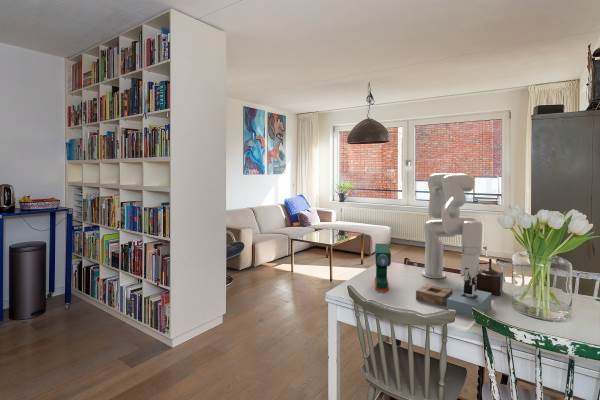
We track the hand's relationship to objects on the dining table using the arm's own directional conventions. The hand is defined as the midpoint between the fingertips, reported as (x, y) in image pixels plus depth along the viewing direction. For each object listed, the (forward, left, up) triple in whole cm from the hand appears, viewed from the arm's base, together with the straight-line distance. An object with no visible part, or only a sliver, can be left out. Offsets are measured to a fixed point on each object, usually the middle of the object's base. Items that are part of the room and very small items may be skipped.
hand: (469, 291), depth 147 cm
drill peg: (0, 0, -7) cm, 7 cm away
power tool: (+1, -40, -8) cm, 41 cm away
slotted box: (0, 0, -8) cm, 8 cm away
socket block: (0, -15, -8) cm, 17 cm away
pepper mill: (-30, -2, -8) cm, 31 cm away
